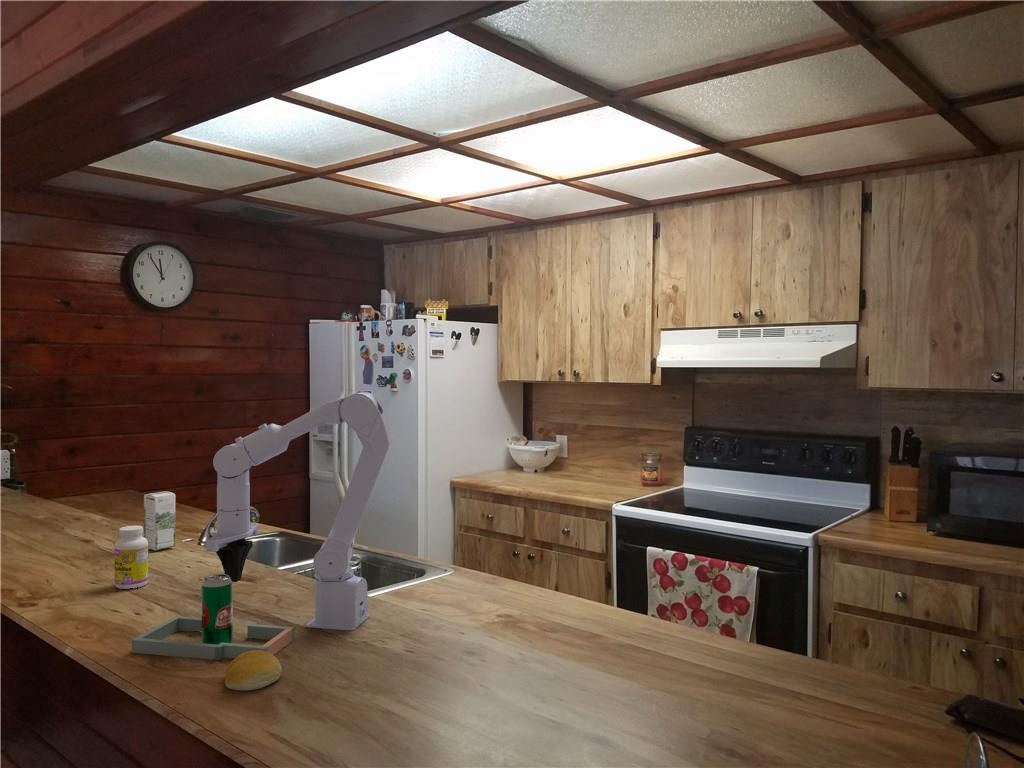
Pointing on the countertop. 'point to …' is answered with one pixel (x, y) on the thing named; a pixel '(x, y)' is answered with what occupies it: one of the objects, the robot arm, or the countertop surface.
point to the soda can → (217, 609)
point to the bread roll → (252, 671)
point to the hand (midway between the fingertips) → (233, 580)
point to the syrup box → (159, 520)
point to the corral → (157, 646)
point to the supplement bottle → (131, 558)
